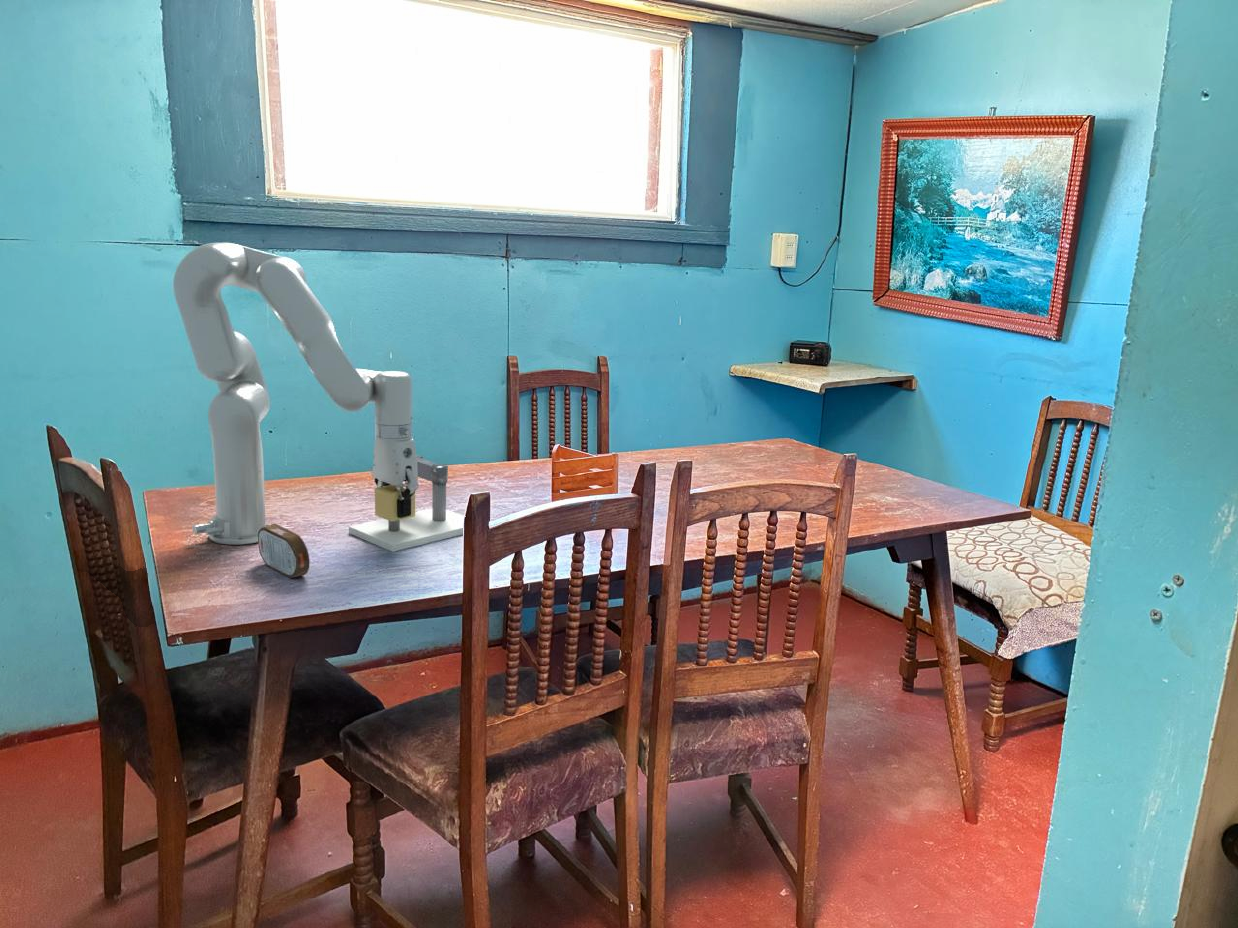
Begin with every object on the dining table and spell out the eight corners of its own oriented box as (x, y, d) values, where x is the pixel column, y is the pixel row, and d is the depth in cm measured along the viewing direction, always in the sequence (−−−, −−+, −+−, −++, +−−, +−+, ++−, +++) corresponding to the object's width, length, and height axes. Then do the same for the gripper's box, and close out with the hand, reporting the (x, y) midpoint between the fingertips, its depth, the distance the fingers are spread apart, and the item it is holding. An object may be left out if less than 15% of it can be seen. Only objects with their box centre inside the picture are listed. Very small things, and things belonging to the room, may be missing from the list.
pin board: (392, 551, 192) (392, 505, 190) (348, 532, 203) (348, 488, 200) (482, 529, 210) (483, 486, 208) (438, 512, 220) (438, 471, 218)
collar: (415, 516, 201) (414, 489, 200) (391, 521, 197) (391, 494, 195) (398, 509, 205) (398, 483, 204) (375, 515, 201) (374, 488, 199)
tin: (311, 580, 175) (310, 537, 173) (296, 584, 173) (294, 541, 171) (270, 559, 185) (269, 518, 183) (255, 562, 183) (254, 521, 181)
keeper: (453, 481, 209) (453, 466, 208) (435, 485, 205) (435, 469, 204) (409, 467, 219) (409, 452, 219) (391, 470, 216) (391, 455, 215)
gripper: (433, 435, 194) (433, 518, 198) (384, 422, 205) (386, 501, 209) (403, 440, 188) (404, 525, 192) (354, 426, 199) (356, 507, 203)
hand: (394, 512), depth 201 cm, fingers closed on collar, 6 cm apart
